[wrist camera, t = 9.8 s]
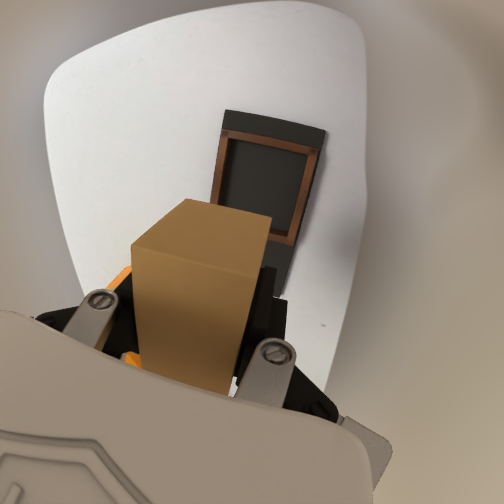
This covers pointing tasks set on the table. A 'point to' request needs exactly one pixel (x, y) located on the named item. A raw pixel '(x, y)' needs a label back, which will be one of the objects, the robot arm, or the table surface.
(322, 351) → the table surface
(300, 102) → the table surface
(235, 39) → the table surface
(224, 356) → the brown block
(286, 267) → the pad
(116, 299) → the robot arm
